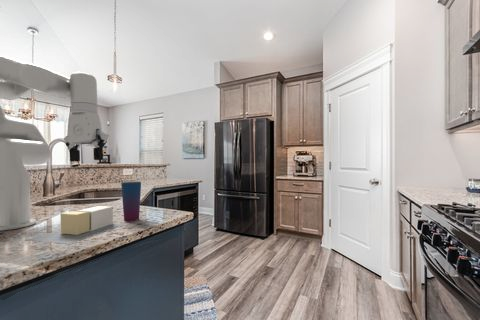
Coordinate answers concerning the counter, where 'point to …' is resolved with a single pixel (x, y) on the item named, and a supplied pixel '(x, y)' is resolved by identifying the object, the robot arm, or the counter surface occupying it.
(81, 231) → the stub
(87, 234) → the board
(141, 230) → the counter surface
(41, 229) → the counter surface
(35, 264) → the counter surface
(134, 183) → the cup
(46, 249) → the counter surface
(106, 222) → the white rectangular box
